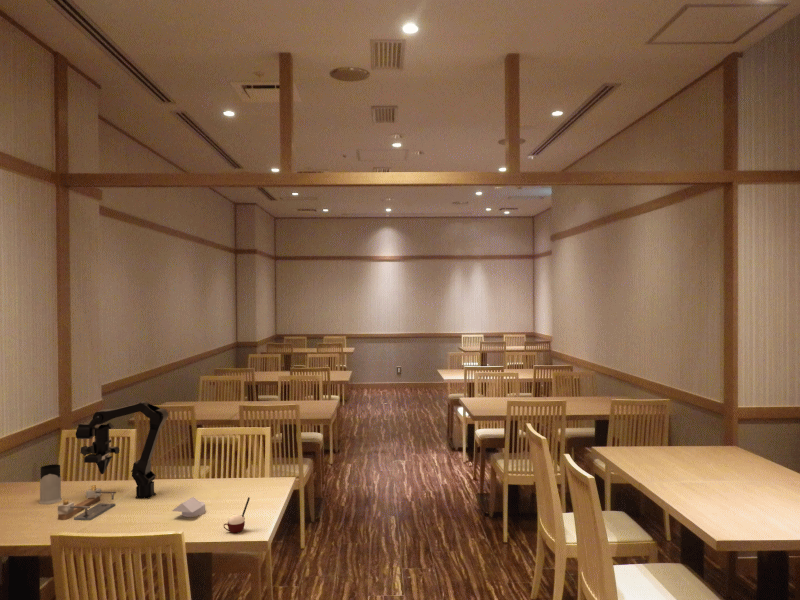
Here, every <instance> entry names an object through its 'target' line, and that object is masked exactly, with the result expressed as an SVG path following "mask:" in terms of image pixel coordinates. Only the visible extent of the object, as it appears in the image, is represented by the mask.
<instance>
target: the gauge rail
mask: <svg viewBox="0 0 800 600" xmlns="http://www.w3.org/2000/svg"><path fill="white" fill-rule="evenodd" d="M100 498H101V495H100V496H98V497H97V498H86V499H84V500H82V501H81V502H80V501H79V502H78V503H77V504H75V502H69V499H62V503H60V504H58V505H57V520H59V521H60V520H61V521H62V520H63V521H65V520H68V519H70V518H71V517H73V516H75V515H76V514H79V513H80V512H82V511H84V512H85V516H87V510H88V509H90V507H91V506H93V505H94V504H97V503H98V502H99V501H101V499H100Z"/></svg>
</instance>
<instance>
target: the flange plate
mask: <svg viewBox="0 0 800 600" xmlns="http://www.w3.org/2000/svg"><path fill="white" fill-rule="evenodd" d="M115 506H116V503H114V502H113V503H111V502H109V503H104V502H101V503H96V505H94V506H93V507H91V508H88V509H87V516H85V511H84V512H82V513H80V514H78V515H76V516H75V517H74V518H73V520H74V521H92V520H93V519H96V518H97V517H98V516H101V515H102V514H104V513H105V512H107V511H109V510H111V509H112V508H114V507H115Z"/></svg>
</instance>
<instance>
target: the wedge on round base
mask: <svg viewBox="0 0 800 600" xmlns="http://www.w3.org/2000/svg"><path fill="white" fill-rule="evenodd" d="M171 512H181V515H182V516H183V517H185V518H186V517H187V518H192V517H193V516H195V517H199V516H202V515H204V514H205V513H206V503H205V502H204V501H201V500H198V499H197V498H196V497H195V496H192V497H190V498H188V499H187V500H185V501H183V502H181V503H180V504H179V505H178V506H176V507H175V508H174V509H172V510H171ZM198 515H199V516H198ZM193 518H194V517H193Z"/></svg>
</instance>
